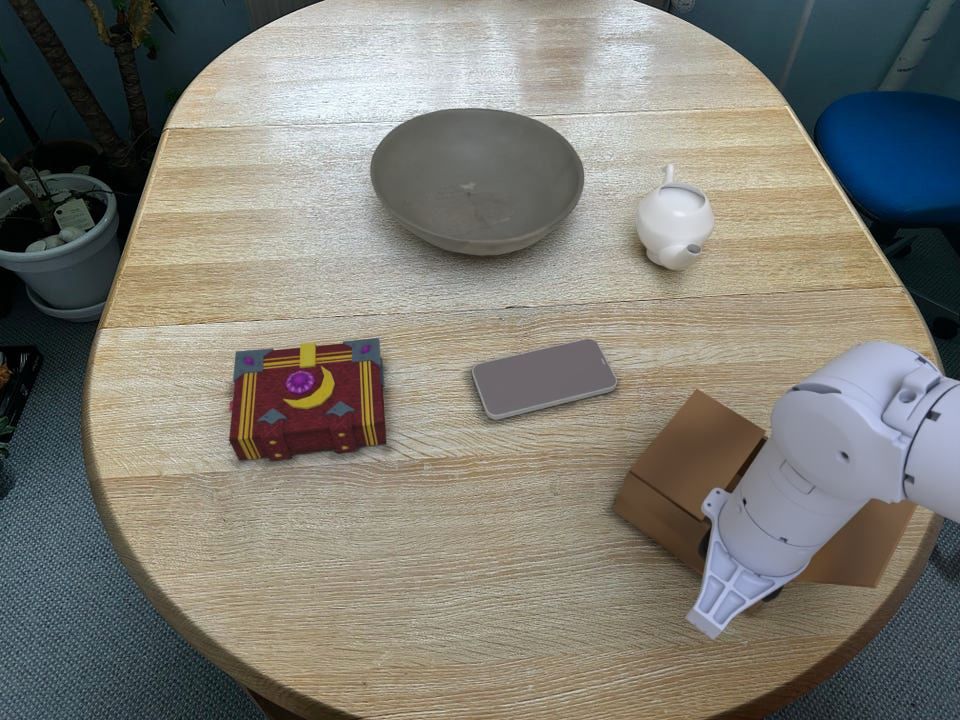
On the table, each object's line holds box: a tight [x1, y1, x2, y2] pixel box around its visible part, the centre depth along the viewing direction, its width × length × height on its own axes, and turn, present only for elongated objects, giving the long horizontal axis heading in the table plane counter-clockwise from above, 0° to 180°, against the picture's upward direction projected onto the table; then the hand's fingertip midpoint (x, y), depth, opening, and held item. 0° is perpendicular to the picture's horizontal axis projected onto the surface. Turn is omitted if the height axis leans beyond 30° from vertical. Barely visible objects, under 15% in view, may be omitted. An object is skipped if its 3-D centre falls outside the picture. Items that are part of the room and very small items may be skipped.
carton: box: [612, 388, 769, 613], centre depth 62 cm, size 15×12×8 cm
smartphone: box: [471, 337, 618, 421], centre depth 74 cm, size 7×1×15 cm
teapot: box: [634, 162, 716, 271], centre depth 85 cm, size 10×20×9 cm, turn 178°
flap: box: [790, 498, 919, 589], centre depth 53 cm, size 7×12×1 cm
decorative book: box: [228, 337, 387, 462], centre depth 70 cm, size 11×16×5 cm
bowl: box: [369, 107, 585, 257], centre depth 89 cm, size 27×28×8 cm
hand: (720, 584), depth 50 cm, fingers closed
